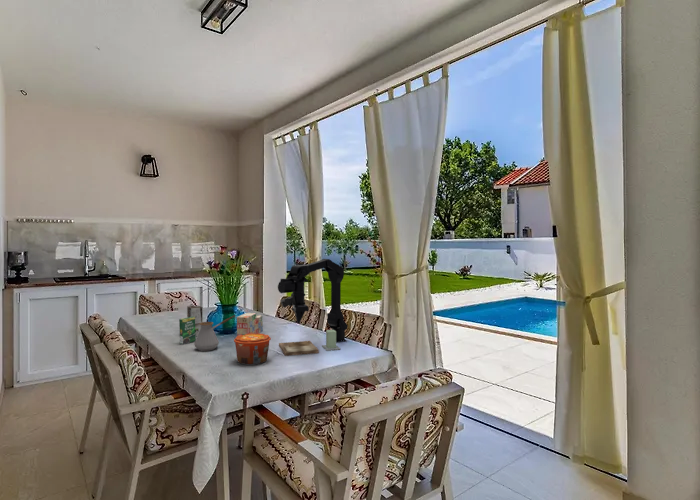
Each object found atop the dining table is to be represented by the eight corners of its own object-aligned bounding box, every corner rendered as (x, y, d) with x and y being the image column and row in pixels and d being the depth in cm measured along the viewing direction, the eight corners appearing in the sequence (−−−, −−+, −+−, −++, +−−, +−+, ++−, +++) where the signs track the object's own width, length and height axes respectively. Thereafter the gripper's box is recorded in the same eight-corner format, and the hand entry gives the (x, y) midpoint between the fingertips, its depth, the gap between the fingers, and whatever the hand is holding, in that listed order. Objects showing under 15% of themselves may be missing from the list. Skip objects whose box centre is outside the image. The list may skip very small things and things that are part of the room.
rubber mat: (335, 345, 217) (335, 344, 217) (340, 349, 209) (340, 348, 209) (321, 346, 215) (321, 345, 215) (326, 350, 207) (326, 349, 207)
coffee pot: (199, 353, 202) (199, 321, 202) (190, 348, 211) (190, 318, 210) (241, 346, 216) (241, 316, 216) (231, 341, 225) (231, 313, 224)
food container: (276, 357, 196) (276, 333, 196) (261, 367, 181) (261, 342, 181) (244, 354, 200) (244, 332, 200) (227, 364, 185) (227, 340, 184)
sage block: (333, 345, 215) (333, 329, 214) (336, 347, 211) (336, 331, 211) (326, 346, 213) (326, 330, 213) (328, 348, 210) (328, 331, 209)
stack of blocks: (252, 330, 252) (252, 309, 251) (262, 331, 250) (262, 310, 250) (236, 339, 231) (236, 316, 230) (247, 339, 229) (247, 317, 229)
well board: (309, 343, 221) (309, 340, 221) (318, 353, 203) (318, 349, 203) (278, 346, 216) (278, 343, 216) (285, 355, 198) (285, 352, 198)
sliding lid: (312, 345, 211) (312, 340, 211) (316, 349, 203) (316, 344, 203) (284, 347, 207) (283, 342, 207) (287, 352, 198) (287, 346, 198)
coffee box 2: (182, 344, 218) (182, 319, 218) (179, 344, 220) (178, 318, 219) (196, 341, 225) (195, 316, 224) (192, 340, 226) (192, 316, 226)
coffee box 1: (203, 336, 237) (202, 307, 237) (191, 337, 234) (190, 308, 233) (198, 333, 245) (198, 304, 245) (186, 334, 241) (186, 306, 241)
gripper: (278, 289, 214) (278, 320, 215) (285, 294, 196) (285, 328, 197) (300, 288, 218) (300, 319, 218) (308, 293, 200) (308, 326, 200)
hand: (298, 323), depth 208 cm, fingers closed
